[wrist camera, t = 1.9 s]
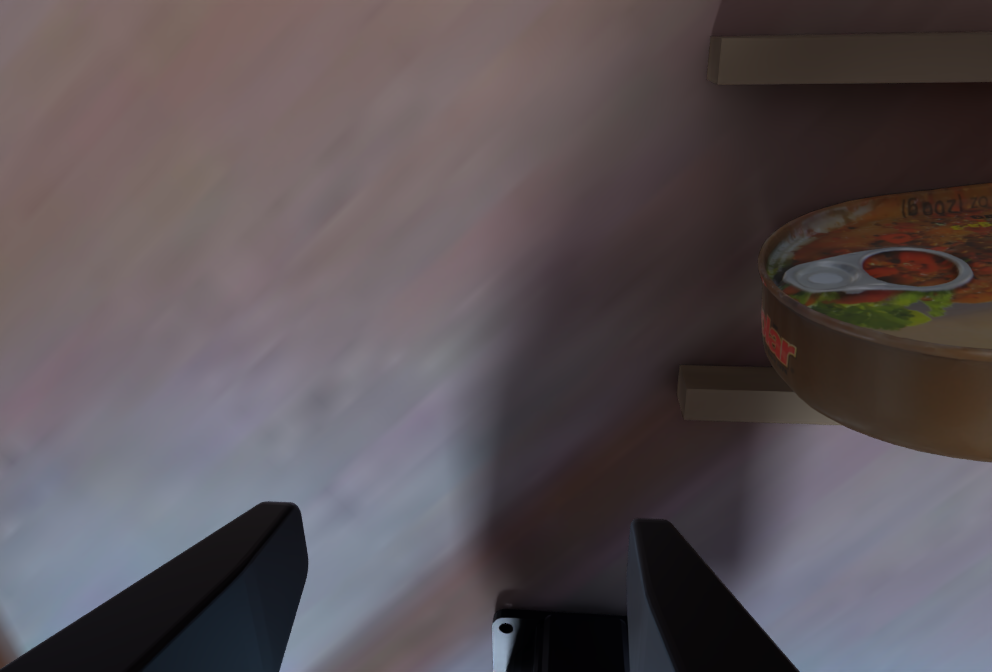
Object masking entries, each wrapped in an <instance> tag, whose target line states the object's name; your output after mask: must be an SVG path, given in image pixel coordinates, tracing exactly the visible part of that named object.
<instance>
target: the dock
mask: <svg viewBox="0 0 992 672" xmlns="http://www.w3.org/2000/svg"><path fill="white" fill-rule="evenodd" d="M707 80H709V81H711V82H713V83H715V84H717V85H750V84H840V83H931V82H992V32H935V33H877V34H820V35H763V36H711V37H710V48H709V59H708V69H707ZM677 397H678V401H679V404H680V408H681V412H682V416H683V419H684V420H698V421H728V422H758V423H789V424H819V425H841V424H839V423H837V422H835V421H833V420H832V419H830V418H828V417H826V416H824V415H822V414H820V413H819V412H817V411H816V410H814V409H813V408H811V407H810V406H809V405H808V404H806V403H805V402H804V401H803V400H802V399H800V398H799V397H798V396H797V394H796V393H795V392H794V391H793V390H792V389H791V388H790V387H789V386H788V385H787V383H786V382H785V381H784V380H783V379H782V378H781V377H780V376H779V375H778V373H777V372H776V371H775V369H774V368H773V367H742V366H703V365H680V366H679V377H678V388H677Z"/></svg>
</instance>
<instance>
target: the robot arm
mask: <svg viewBox="0 0 992 672" xmlns="http://www.w3.org/2000/svg"><path fill="white" fill-rule="evenodd" d="M307 572H308V553H307V547H306V541H305V535H304V528H303V522H302V516H301V512H300V509H299V507H298V506H297V505H296V504H294V503H291V502H270V501H268V502H262V503H260V504H258V505H256V506H255V507H253V508H251V509H250V510H248V511H247V512H245V513H244V514H242V515H241V516H239V517H237V518H236V519H234V520H233V521H231V522H230V523H228V524H226V525H225V526H223V527H222V528H220V529H219V530H217V531H216V532H214V533H212V534H211V535H209V536H208V537H206V538H205V539H203V540H201V541H200V542H198V543H197V544H195V545H194V546H192V547H191V548H189V549H187V550H186V551H184V552H183V553H181V554H180V555H178V556H177V557H175V558H173V559H172V560H170V561H169V562H167V563H166V564H164V565H162V566H161V567H159V568H158V569H156V570H155V571H153V572H152V573H150V574H148V575H147V576H145V577H144V578H142V579H141V580H139V581H137V582H136V583H134V584H133V585H131V586H130V587H128V588H127V589H125V590H123V591H122V592H120V593H119V594H117V595H116V596H114V597H112V598H111V599H109V600H108V601H106V602H105V603H103V604H102V605H100V606H98V607H97V608H95V609H94V610H92V611H91V612H89V613H87V614H86V615H84V616H83V617H81V618H80V619H78V620H77V621H75V622H73V623H72V624H70V625H69V626H67V627H66V628H64V629H62V630H61V631H59V632H58V633H56V634H55V635H53V636H51V637H50V638H48V639H47V640H45V641H44V642H42V643H41V644H39V645H37V646H36V647H34V648H33V649H31V650H30V651H28V652H26V653H25V654H23V655H22V656H20V657H19V658H17V659H16V660H14V661H12V662H11V663H9V664H8V665H6V666H5V667H3V668H2V669H0V672H279V670H280V667H281V663H282V660H283V657H284V653H285V650H286V646H287V643H288V640H289V636H290V633H291V629H292V626H293V622H294V619H295V616H296V612H297V609H298V605H299V602H300V599H301V595H302V592H303V588H304V585H305V582H306V578H307ZM626 595H627V616H615V615H598V614H582V613H565V612H548V611H531V610H514V609H502V610H499V611H497V612H496V613H495V614H494V618H493V624H492V642H493V672H799V670H798V669H797V668H796V667H795V666H794V665H793V663H792V662H791V661H790V660H789V659H788V658H787V657H786V655H785V654H784V653H783V652H782V651H781V650H780V648H779V647H778V646H777V645H776V644H775V643H774V641H773V640H772V639H771V638H770V637H769V636H768V635H767V633H766V632H765V631H764V630H763V629H762V628H761V626H760V625H759V624H758V623H757V622H756V621H755V620H754V618H753V617H752V616H751V615H750V614H749V613H748V611H747V610H746V609H745V608H744V607H743V606H742V604H741V603H740V602H739V601H738V600H737V599H736V598H735V596H734V595H733V594H732V593H731V592H730V591H729V589H728V588H727V587H726V586H725V585H724V584H723V582H722V581H721V580H720V579H719V578H718V577H717V576H716V574H715V573H714V572H713V571H712V570H711V569H710V567H709V566H708V565H707V564H706V563H705V562H704V561H703V559H702V558H701V557H700V556H699V555H698V554H697V552H696V551H695V550H694V549H693V548H692V547H691V545H690V544H689V543H688V542H687V541H686V540H685V539H684V537H683V536H682V535H681V534H680V533H679V532H678V530H677V529H676V528H675V527H674V526H673V525H672V524H671V523H670V522H669V521H667V520H663V519H641V518H637V519H634V520H633V521H632V522H631V526H630V535H629V549H628V563H627V580H626ZM503 623H509V624H511V625H505V624H503Z"/></svg>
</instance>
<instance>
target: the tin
mask: <svg viewBox="0 0 992 672" xmlns="http://www.w3.org/2000/svg"><path fill="white" fill-rule="evenodd" d="M758 270H759V274H760V276H761V279H762V309H761V323H762V339H763V346H764V350H765V353H766V355H767V357H768V359H769V361H770V363H771V365H772V366H773V368H774V369H775V371H776V372H777V373H778V375H779V376H780V377H781V378H782V379H783V380H784V381H785V382H786V383H787V385H788V386H789V387H790V388H791V389H792V390H793V391H794V392H795V393H796V394H797V396H798V397H799V398H800V399H802V400H803V401H804V402H805V403H806V404H808V405H809V406H810V407H811V408H813V409H814V410H816V411H817V412H819V413H820V414H822V415H824V416H826V417H828V418H830V419H832V420H833V421H835V422H837V423H839V424H841V425H843V426H845V427H847V428H850V429H852V430H855V431H857V432H860V433H862V434H865V435H868V436H870V437H873V438H876V439H879V440H882V441H885V442H888V443H891V444H894V445H898V446H902V447H906V448H909V449H913V450H917V451H920V452H926V453H931V454H937V455H942V456H947V457H952V458H959V459H967V460H974V461H983V462H992V183H985V184H975V185H966V186H958V187H950V188H942V189H934V190H925V191H915V192H907V193H899V194H890V195H882V196H875V197H869V198H863V199H857V200H852V201H847V202H844V203H840V204H836V205H832V206H829V207H825V208H822V209H819V210H816V211H813V212H810V213H808V214H805V215H803V216H800V217H798V218H796V219H794V220H792V221H790V222H788V223H787V224H785V225H784V226H782V227H781V228H779V229H778V230H776V231H775V232H774V233H773V234H772V235H771V236H770V237H769V238H768V239H767V240H766V241H765V243H764V244H763V246H762V248H761V250H760V253H759V257H758Z"/></svg>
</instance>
